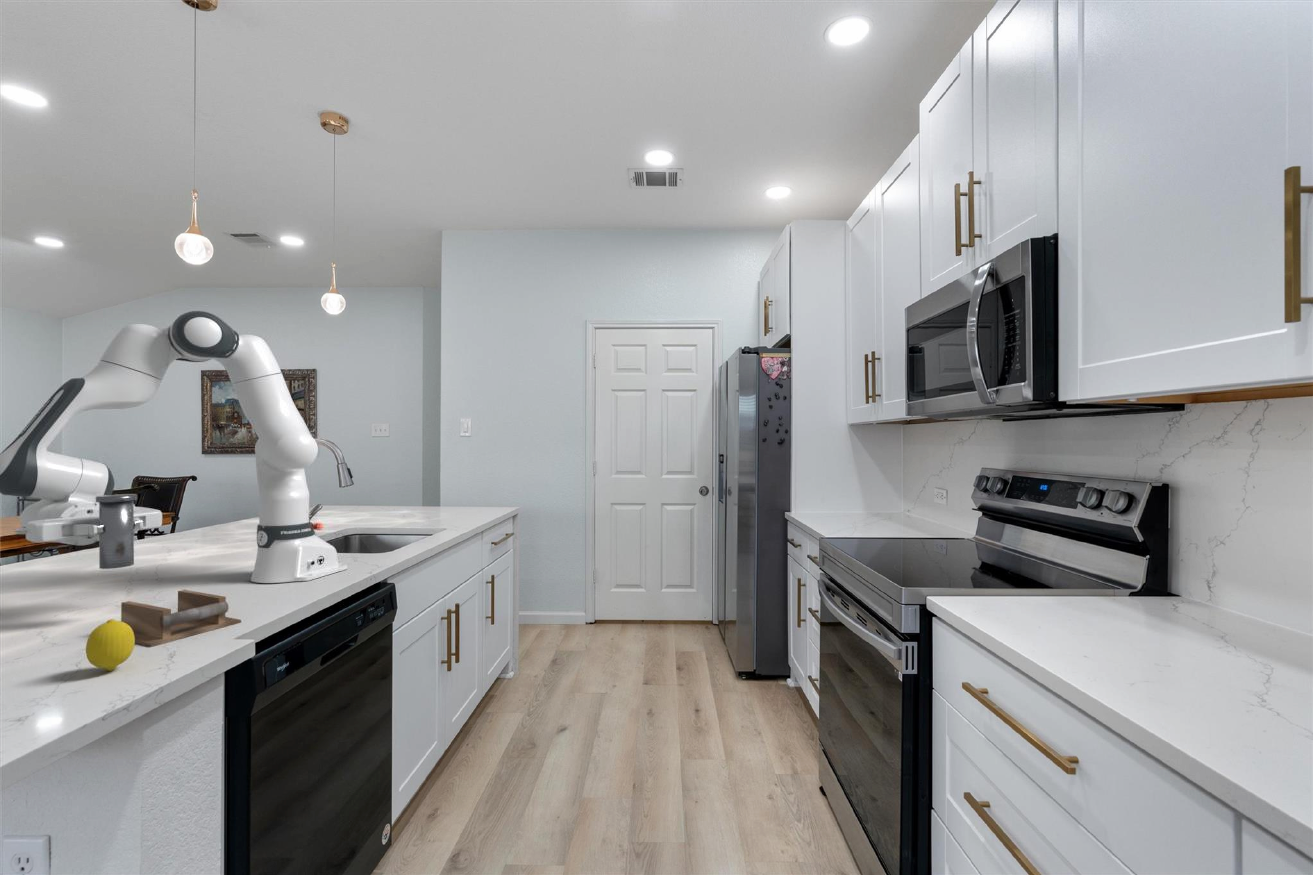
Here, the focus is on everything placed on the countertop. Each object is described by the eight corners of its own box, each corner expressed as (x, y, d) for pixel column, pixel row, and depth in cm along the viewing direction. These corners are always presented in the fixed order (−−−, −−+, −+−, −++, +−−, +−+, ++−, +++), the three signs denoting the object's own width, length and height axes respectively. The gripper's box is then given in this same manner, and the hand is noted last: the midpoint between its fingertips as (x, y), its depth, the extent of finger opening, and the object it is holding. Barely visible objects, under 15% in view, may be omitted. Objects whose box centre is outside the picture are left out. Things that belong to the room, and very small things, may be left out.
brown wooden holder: (193, 613, 120) (194, 586, 120) (241, 622, 114) (241, 594, 114) (102, 635, 106) (102, 605, 106) (150, 646, 100) (151, 615, 100)
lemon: (110, 678, 87) (111, 625, 87) (74, 677, 87) (75, 624, 87) (144, 664, 93) (144, 614, 93) (110, 663, 93) (110, 613, 93)
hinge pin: (126, 561, 118) (126, 493, 118) (143, 564, 116) (143, 494, 116) (89, 567, 113) (88, 496, 113) (106, 570, 111) (106, 497, 111)
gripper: (9, 514, 110) (48, 518, 104) (139, 502, 129) (177, 505, 123) (10, 547, 110) (48, 553, 105) (139, 530, 129) (177, 534, 123)
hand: (119, 527), depth 114 cm, fingers closed on hinge pin, 5 cm apart
